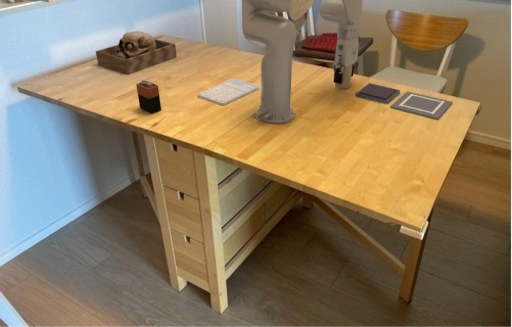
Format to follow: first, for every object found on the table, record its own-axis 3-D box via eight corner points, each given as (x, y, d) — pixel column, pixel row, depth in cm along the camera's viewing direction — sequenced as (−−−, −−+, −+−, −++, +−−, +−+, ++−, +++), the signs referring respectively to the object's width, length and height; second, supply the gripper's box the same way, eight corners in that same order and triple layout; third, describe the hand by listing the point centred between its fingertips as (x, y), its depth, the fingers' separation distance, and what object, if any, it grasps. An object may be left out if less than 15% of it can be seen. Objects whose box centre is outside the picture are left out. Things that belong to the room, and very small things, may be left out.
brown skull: (112, 68, 182) (108, 34, 176) (125, 59, 198) (122, 27, 192) (149, 69, 182) (147, 36, 176) (160, 60, 198) (158, 29, 192)
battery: (151, 114, 144) (147, 86, 139) (139, 109, 148) (134, 81, 143) (162, 110, 147) (158, 82, 142) (149, 105, 151) (145, 77, 146)
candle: (349, 83, 166) (352, 58, 161) (350, 89, 162) (353, 63, 156) (334, 83, 167) (337, 57, 161) (335, 88, 162) (338, 62, 157)
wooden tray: (128, 74, 176) (126, 60, 173) (98, 65, 186) (95, 51, 183) (176, 57, 195) (175, 44, 191) (146, 49, 205) (144, 36, 202)
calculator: (196, 97, 157) (196, 93, 156) (233, 81, 170) (233, 77, 169) (223, 107, 150) (223, 102, 149) (259, 90, 163) (259, 85, 162)
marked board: (437, 120, 139) (438, 117, 139) (390, 107, 148) (390, 105, 147) (452, 103, 150) (452, 101, 150) (407, 92, 158) (407, 90, 158)
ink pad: (386, 104, 150) (387, 100, 149) (354, 96, 156) (355, 92, 155) (399, 93, 158) (400, 89, 157) (369, 86, 164) (369, 82, 163)
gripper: (346, 40, 146) (341, 88, 155) (368, 29, 158) (362, 74, 167) (326, 36, 150) (323, 84, 159) (349, 25, 161) (345, 70, 171)
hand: (343, 79), depth 163 cm, fingers open, 8 cm apart
